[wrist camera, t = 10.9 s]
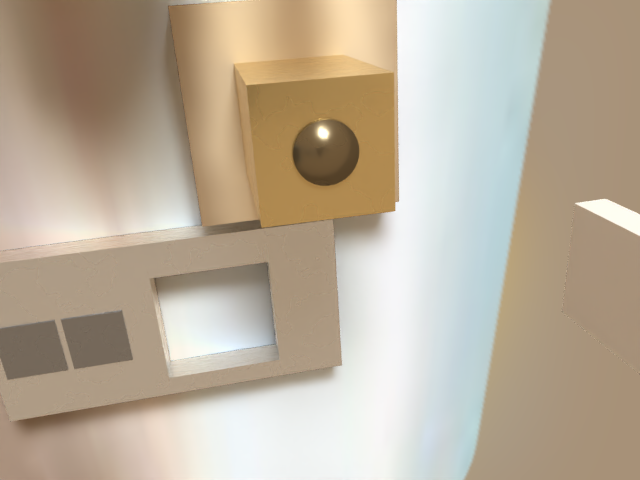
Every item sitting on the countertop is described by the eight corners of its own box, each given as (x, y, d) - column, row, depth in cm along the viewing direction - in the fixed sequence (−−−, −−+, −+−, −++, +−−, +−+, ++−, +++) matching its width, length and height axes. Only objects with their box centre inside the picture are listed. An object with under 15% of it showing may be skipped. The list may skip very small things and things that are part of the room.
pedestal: (202, 210, 36) (202, 226, 34) (170, 5, 32) (167, 6, 29) (384, 187, 38) (398, 201, 35) (380, -9, 34) (396, -11, 31)
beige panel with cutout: (19, 401, 39) (9, 422, 37) (-30, 254, 35) (-44, 269, 33) (335, 349, 42) (342, 365, 40) (326, 209, 38) (333, 219, 36)
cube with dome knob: (246, 172, 33) (262, 229, 25) (233, 63, 31) (246, 85, 22) (348, 161, 34) (396, 212, 26) (343, 54, 32) (395, 73, 23)
